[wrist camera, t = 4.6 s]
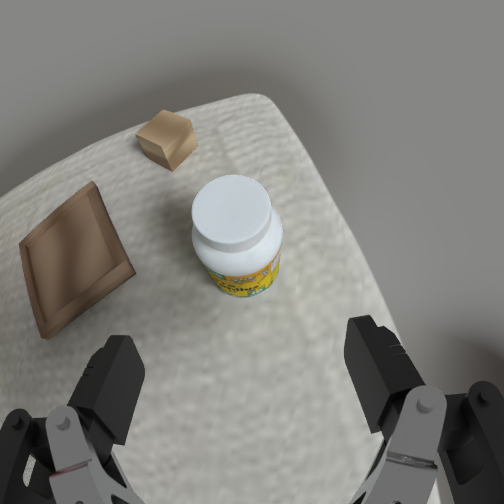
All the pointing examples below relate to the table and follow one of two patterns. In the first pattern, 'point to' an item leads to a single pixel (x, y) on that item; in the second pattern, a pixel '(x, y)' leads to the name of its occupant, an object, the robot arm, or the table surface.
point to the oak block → (168, 139)
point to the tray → (72, 261)
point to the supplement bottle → (237, 235)
